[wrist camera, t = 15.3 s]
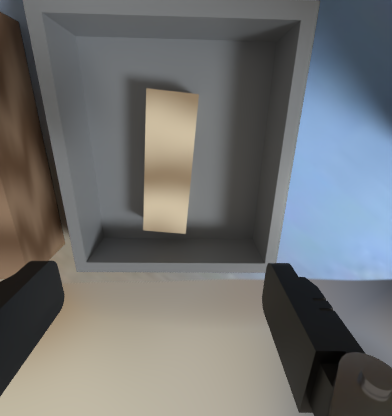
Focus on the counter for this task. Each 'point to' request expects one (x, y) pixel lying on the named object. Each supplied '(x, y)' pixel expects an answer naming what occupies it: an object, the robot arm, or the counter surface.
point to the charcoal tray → (205, 124)
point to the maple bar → (168, 159)
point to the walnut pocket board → (22, 164)
